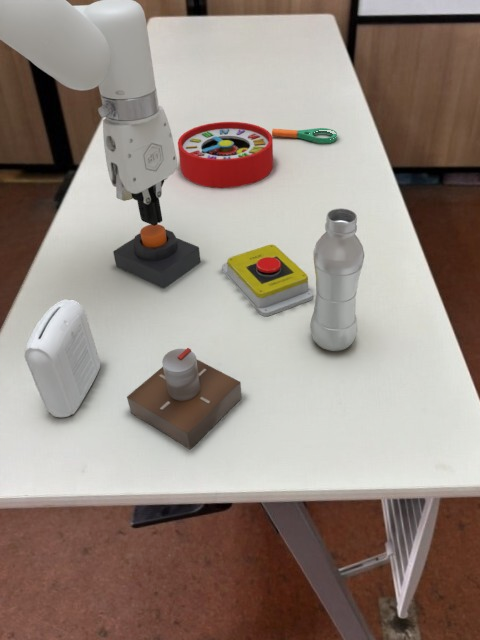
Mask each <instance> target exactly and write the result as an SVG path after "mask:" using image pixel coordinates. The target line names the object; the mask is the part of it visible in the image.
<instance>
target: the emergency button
mask: <svg viewBox="0 0 480 640" xmlns="http://www.w3.org/2000/svg"><path fill="white" fill-rule="evenodd" d="M221 271H222V273H223V274H224V276H226V277H227V279H228V280H229V281H230V282H231V283H232V285H234V286H235V288H237V290H238V291H239V292H240V293H241V294H242V295H243V297H245V298H246V300H247V301H248V302H249V303H250V304H251V305H252V306H253V308H254V309H255V310H256V311H257V312H258V313H259V315H260V316H262V317H270V316H273V315H276V314H279V313H282V312H284V311H287V310H289V309H292V308H294V307H297V306H299V305H302V304H304V303H305V304H306V303H308V302H310V301H312V300H313V299H314V292H313V290H311V288H309V276H308V274H307V273H306V272H305V271H304V270H303V269H301V268H300V267H299V266H298V265H297V264H296V263H295V262H294V261H293V260H292V259H291V258H290V257H289V256H287V254H285V252H283V250H281V249H280V248H279V247H278V246H277V245H276V244H267V245H264V246H260V247H258V248H254V249H252V250H249V251H245V252H242V253H239V254H236V255H234V256H229V258H227V261H226V263H224V264H222V265H221Z"/></svg>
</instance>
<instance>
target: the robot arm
mask: <svg viewBox="0 0 480 640" xmlns="http://www.w3.org/2000/svg"><path fill="white" fill-rule="evenodd" d="M0 41H1V42H3V43H5V44H6V45H7V46H9V47H10V48H11V49H13V50H14V51H16V52H17V53H19V54H20V55H21V56H23V57H24V58H25V59H27V60H28V61H30V62H31V63H32V64H33V65H34V66H36V67H37V68H38V69H40V70H41V71H42V72H44V73H46V75H48V76H50V77H52V78H53V79H54V80H55V81H56V82H58V83H60V84H61V85H63V86H64V87H66V88H69V89H71V90H74V91H89V90H93V89H95V88H97V87H98V89H99V95H100V99H101V104H102V105H101V106H100V107H98V109H97V111H98V114H99V116H100V117H101V118H104V119H103V120H102V134H103V135H102V136H103V137H102V138H103V147H104V155H105V156H104V157H105V162H106V166H107V172H108V176H109V179H110V182H111V184H112V186H113V187H114V188H115V189H116V190H115V193H116V198H117V200H120V201H123V202H126V201H130V200H134V201H137V207H138V212H139V216H140V219H141V221H142V222H143V223H145V224H148V225H154V226H155V225H157V224H158V225H159V224H160V223H162V222H163V214H162V210H161V209H162V208H161V202H160V198H161V197H162V194H163V190H162V189H163V185H164V183H165V181H166V180H167V179H168V178H169V177H170V176H172V175H173V174H174V173H175V172H176V171H177V169H178V159H177V153H176V148H175V143H174V138H173V134H172V129H171V126H170V123H169V120H168V117H167V114H166V112H165V109H164V107H163V106H161V105H160V104H159V98H158V92H157V85H156V79H155V72H154V67H153V60H152V53H151V45H150V40H149V32H148V25H147V18H146V14H145V10H144V9H143V7H142V5H141V4H140V3H139V2H137V1H136V0H98V1H95V2H92V3H90V4H84V5H83V4H82V5H72V4H71V3H70V2H69V1H67V0H0Z"/></svg>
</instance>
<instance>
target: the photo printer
mask: <svg viewBox="0 0 480 640" xmlns="http://www.w3.org/2000/svg"><path fill="white" fill-rule="evenodd" d="M91 330H92V329H91V327H90V322H89V320H88V315H87V313H86V310H85V308H84V307H83V306H82V305H81V304H80V303H79V302H78V301H77V300H74V299H66V298H65V299H62V300H60V301H58V302H56V303H55V304H54V305H52V306H51V307H50V308H49V309H48V310H47V311H46V312H45V313H44V314H43V315H42V316H41V318H40V319H39V320H38V322H37V323H36V325H35V327H34V328H33V330H32V332H31V334H30V336H29V338H28V340H27V342H26V346H25V348H24V359H25V362H26V365H27V367H28V369H29V371H30V374H31V376H32V380H33V382H34V385H35V386H36V389H37V391H38V394H39V397H40V399H41V401H42V403H43V406H44V409H45V410H46V411H47V412H49V414H51V416H53V417H56V418H67V417H70V416H71V415H74V414H75V413H76V412H77V410H78V409H79V407H81V405H82V402H83V401H84V399H85V397H86V396H87V394H88V392H89V390H90V388H91V386H92V385H93V383H94V381H95V379H96V377H97V375H98V373H99V371H100V368H101V361H100V358H99V354H98V350H97V347H96V343H95V341H94V337H93V333H92V331H91Z"/></svg>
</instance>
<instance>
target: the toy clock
mask: <svg viewBox="0 0 480 640" xmlns="http://www.w3.org/2000/svg"><path fill="white" fill-rule="evenodd" d="M273 144H274V142H273V136H272V133H270V131H269V130H267V129H265V128H264V127H262V126H259V125H258V124H257V125H256V124H254V123H248V122H242V121H241V122H240V121H220V122H211V123H206V124H202V125H198V126H196V127H193V128H191V129H189V130H187V131H185V132H184V133H183V134H182V135H181V136H179V138H178V141H177V148H178V157H179V165H180V171H181V172H180V173H181V174H182V176H183V177H184V178H185V180H187V181H189V182H191V183H193V184H196V185H198V186H202V187H205V188H214V189H216V188H217V189H230V188H239V187H244V186H248V185H251V184H255V183H257V182H259V181H262V180H263V179H265V178H266V177H268V176H269V175H270V174H271V173H272V171H273V168H274V149H273V148H274V145H273Z"/></svg>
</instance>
